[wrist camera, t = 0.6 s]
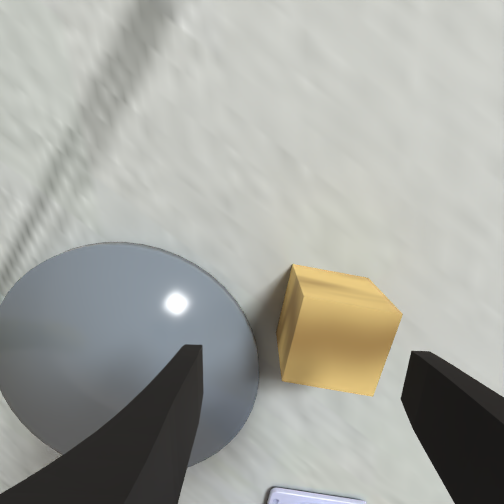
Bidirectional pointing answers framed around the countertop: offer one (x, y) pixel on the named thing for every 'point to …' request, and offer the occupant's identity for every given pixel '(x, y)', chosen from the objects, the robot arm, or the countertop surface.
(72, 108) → the countertop surface
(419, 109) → the countertop surface
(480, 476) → the robot arm
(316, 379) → the cube
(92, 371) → the plate
